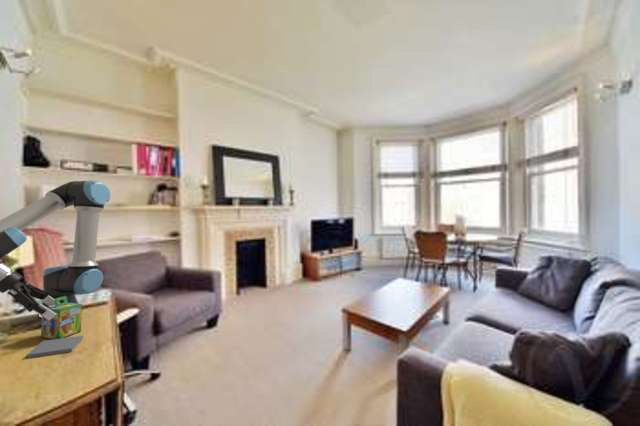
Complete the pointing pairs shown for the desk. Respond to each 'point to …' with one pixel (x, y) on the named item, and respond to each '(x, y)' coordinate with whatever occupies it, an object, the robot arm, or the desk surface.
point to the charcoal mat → (55, 346)
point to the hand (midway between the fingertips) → (56, 312)
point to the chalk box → (62, 320)
